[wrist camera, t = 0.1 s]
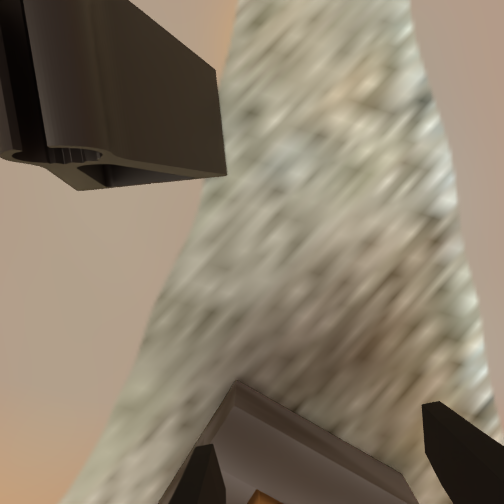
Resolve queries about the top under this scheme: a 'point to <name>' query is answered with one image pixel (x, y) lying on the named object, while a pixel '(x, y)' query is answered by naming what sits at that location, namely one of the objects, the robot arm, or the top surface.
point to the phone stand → (104, 96)
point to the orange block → (262, 499)
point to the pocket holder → (290, 458)
